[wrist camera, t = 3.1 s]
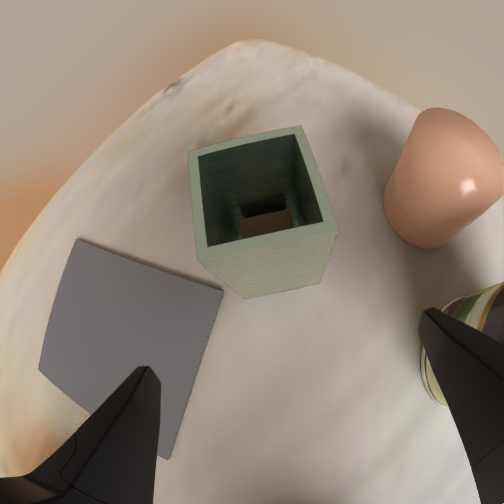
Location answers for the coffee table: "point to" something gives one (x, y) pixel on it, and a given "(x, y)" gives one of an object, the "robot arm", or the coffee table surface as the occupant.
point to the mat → (126, 332)
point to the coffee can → (477, 316)
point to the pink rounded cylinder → (442, 179)
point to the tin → (261, 212)
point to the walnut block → (266, 224)
